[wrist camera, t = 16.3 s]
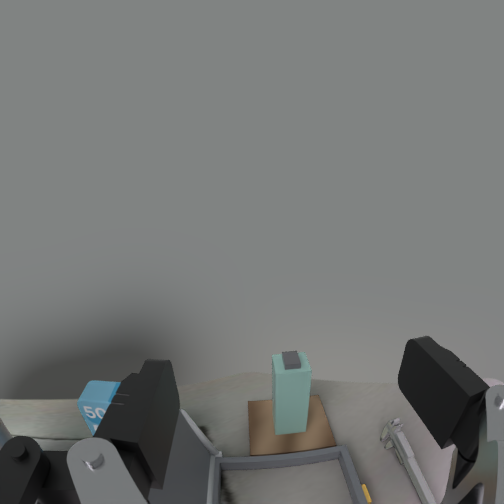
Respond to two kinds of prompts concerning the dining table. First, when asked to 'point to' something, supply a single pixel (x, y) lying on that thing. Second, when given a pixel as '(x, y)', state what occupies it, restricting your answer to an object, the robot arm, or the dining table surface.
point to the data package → (96, 401)
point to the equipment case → (231, 467)
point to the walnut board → (271, 444)
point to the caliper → (407, 459)
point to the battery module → (290, 392)
